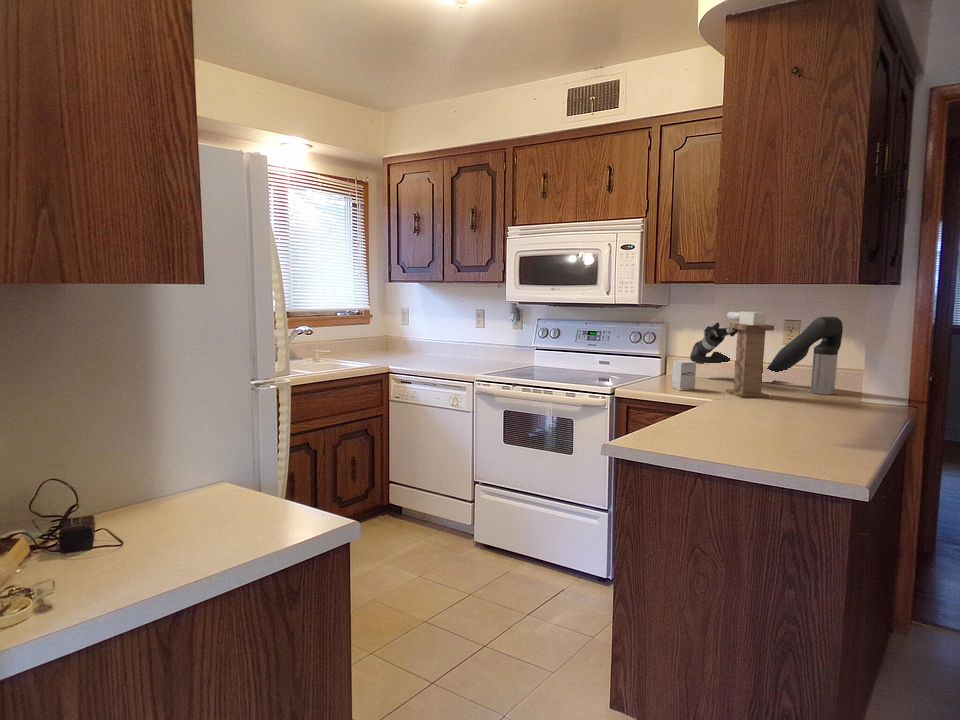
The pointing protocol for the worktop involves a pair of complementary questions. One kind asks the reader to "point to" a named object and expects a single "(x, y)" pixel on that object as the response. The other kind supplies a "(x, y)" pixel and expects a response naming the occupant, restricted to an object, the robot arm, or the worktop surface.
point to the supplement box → (684, 374)
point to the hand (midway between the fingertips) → (727, 324)
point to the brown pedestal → (749, 360)
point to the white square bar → (748, 317)
